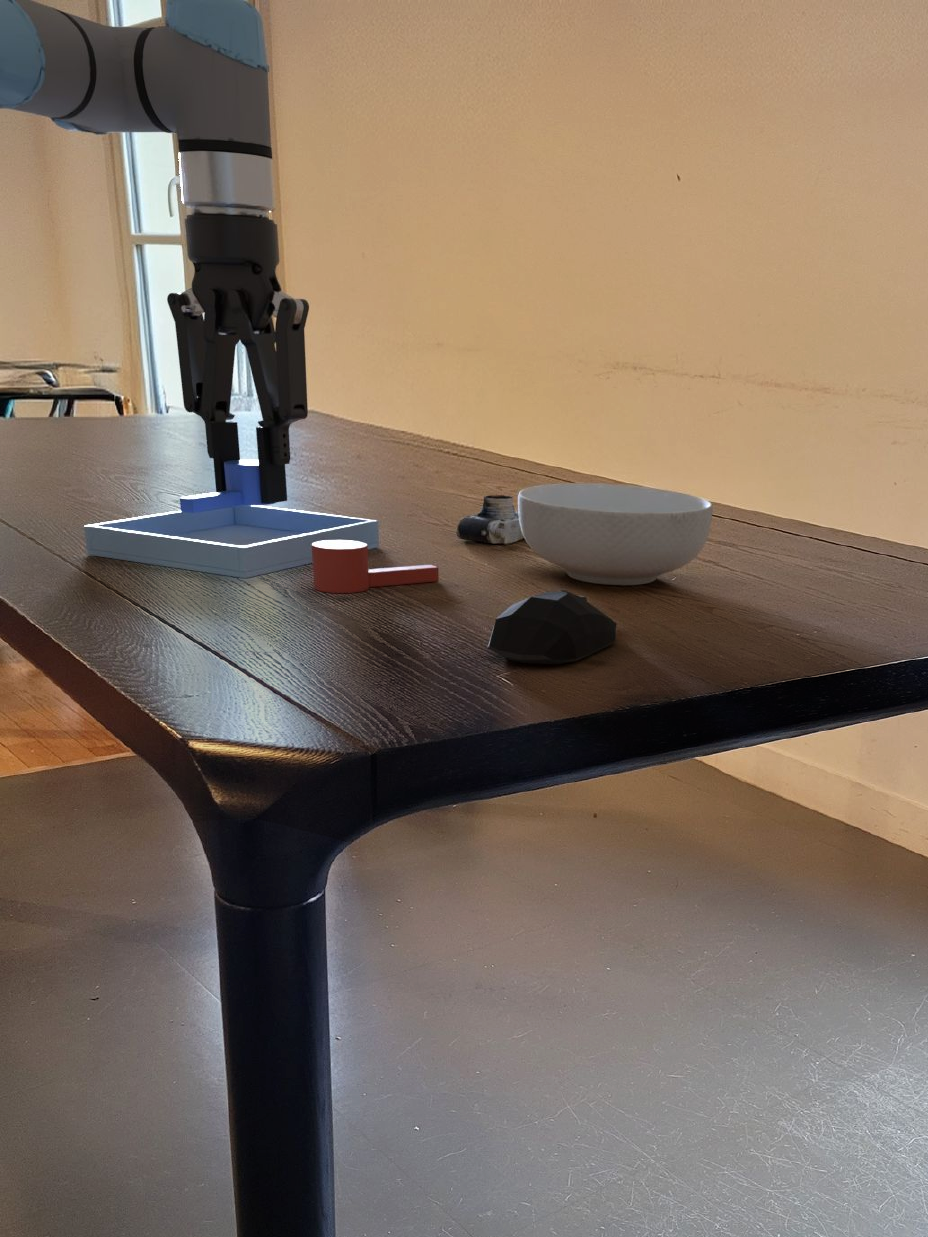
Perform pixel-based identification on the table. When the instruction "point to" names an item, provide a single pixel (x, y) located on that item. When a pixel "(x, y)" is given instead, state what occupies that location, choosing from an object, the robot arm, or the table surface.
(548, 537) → the cereal bowl
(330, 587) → the red scoop
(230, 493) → the blue scoop
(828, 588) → the table surface
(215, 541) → the blue tray
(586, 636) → the black faceted rock
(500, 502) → the camera
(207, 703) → the table surface
